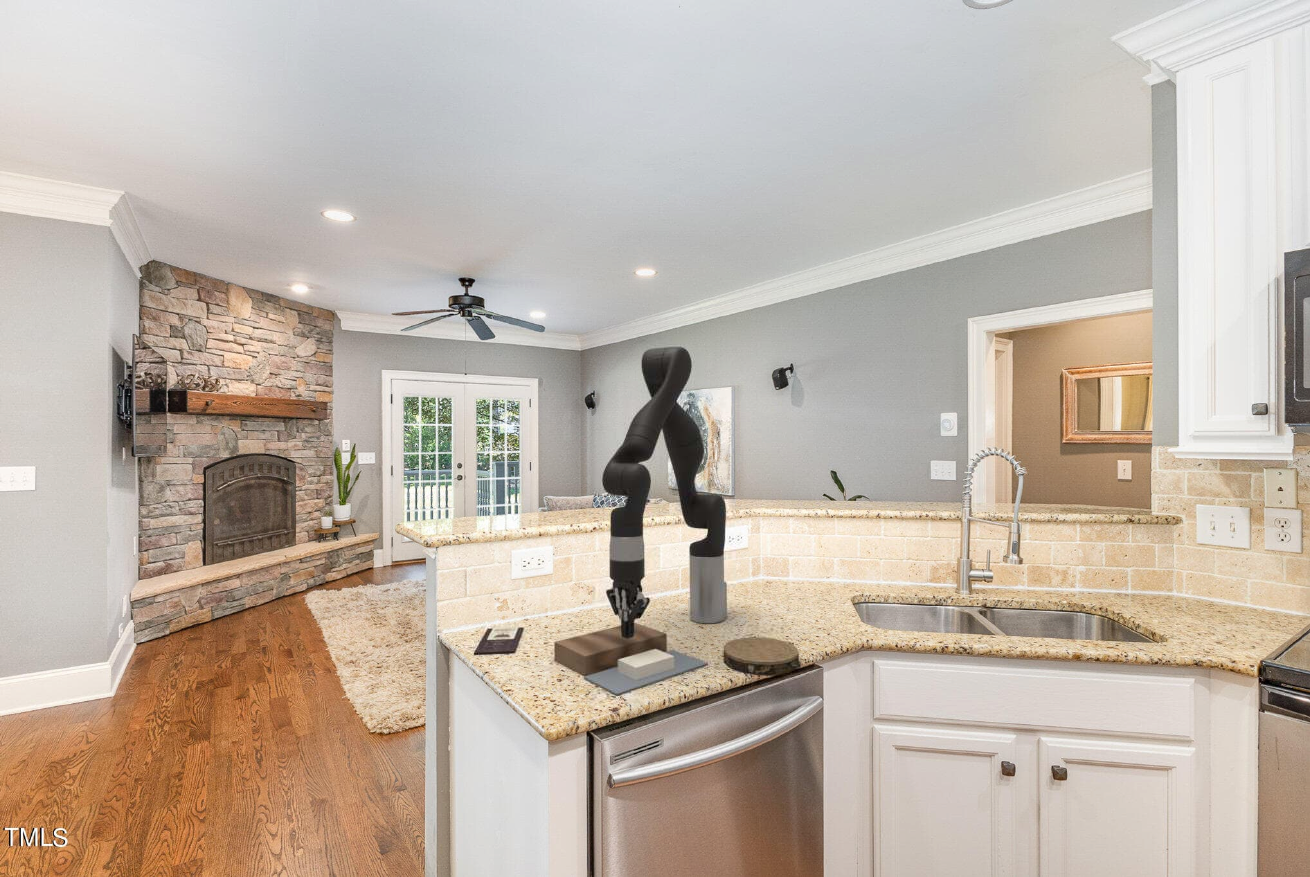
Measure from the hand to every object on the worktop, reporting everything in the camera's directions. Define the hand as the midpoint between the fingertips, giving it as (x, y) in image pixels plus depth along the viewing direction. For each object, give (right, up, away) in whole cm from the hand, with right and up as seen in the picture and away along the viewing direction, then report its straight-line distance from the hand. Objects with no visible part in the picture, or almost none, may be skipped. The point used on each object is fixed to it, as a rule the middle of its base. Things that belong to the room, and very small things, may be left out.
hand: (627, 637), depth 130 cm
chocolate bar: (-31, -7, +15) cm, 35 cm away
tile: (+4, -4, -5) cm, 8 cm away
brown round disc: (+29, -6, 0) cm, 29 cm away
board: (-4, -6, +4) cm, 8 cm away
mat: (+4, -5, -5) cm, 9 cm away
